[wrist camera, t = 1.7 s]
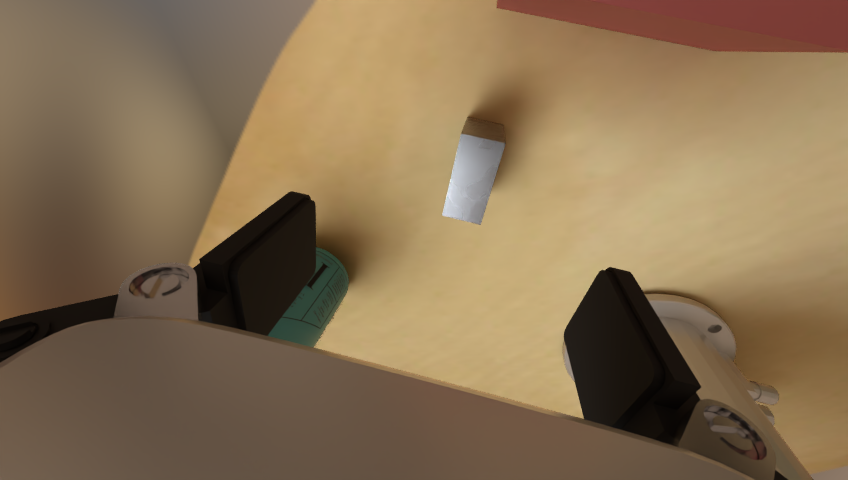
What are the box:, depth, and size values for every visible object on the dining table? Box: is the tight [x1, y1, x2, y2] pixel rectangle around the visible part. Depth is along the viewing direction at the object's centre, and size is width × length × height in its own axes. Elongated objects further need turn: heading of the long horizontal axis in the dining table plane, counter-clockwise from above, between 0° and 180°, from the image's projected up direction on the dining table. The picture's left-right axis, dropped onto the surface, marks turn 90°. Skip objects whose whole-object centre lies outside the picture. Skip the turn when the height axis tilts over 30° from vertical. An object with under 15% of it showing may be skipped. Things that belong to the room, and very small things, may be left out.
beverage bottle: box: [268, 247, 349, 347], centre depth 22 cm, size 6×7×20 cm
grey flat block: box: [442, 117, 506, 225], centre depth 21 cm, size 2×5×5 cm, turn 170°
